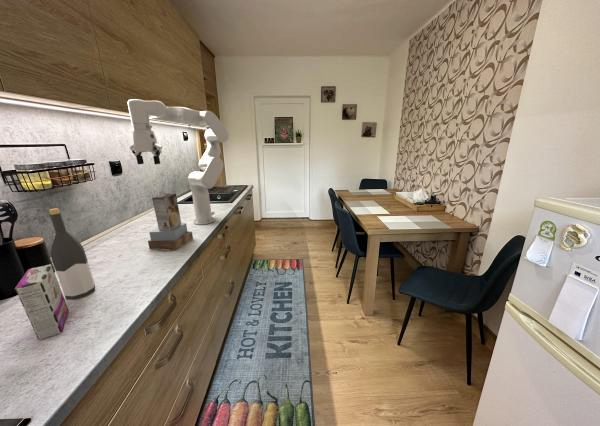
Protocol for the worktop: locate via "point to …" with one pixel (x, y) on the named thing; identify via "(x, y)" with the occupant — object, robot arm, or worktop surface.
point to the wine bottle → (70, 261)
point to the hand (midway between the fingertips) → (149, 164)
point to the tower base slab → (171, 242)
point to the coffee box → (167, 211)
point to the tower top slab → (168, 233)
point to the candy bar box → (43, 301)
